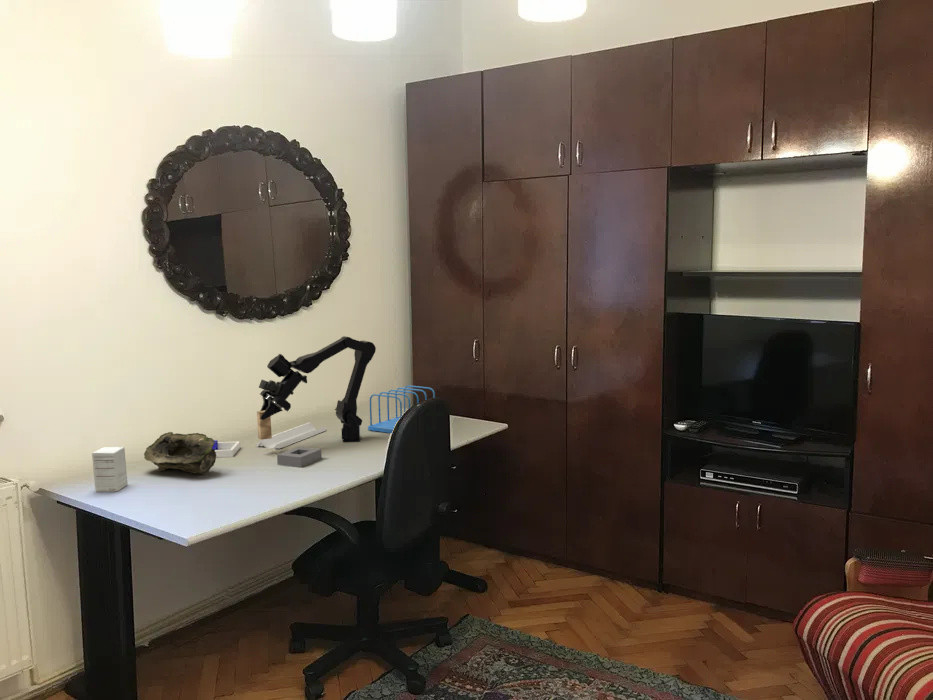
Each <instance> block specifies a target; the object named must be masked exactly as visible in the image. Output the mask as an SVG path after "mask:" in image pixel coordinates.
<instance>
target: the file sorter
mask: <svg viewBox="0 0 933 700" xmlns="http://www.w3.org/2000/svg"><path fill="white" fill-rule="evenodd" d="M418 388H419V389H418ZM423 389H427V390H430V391H432V394H433V396H432V398H435V399H436V392H435V390H434V389H433V388H431V387H426V386H419V385H417V386H416V385H406V386H405V387H397V389H389V390H388V391H382V392H380V393H379V394H377V393H373V394H372V395H370V397H369V419H370V420H369V423H370V425H368V426H367V430H368V431H373V432H381V433H389V434H393V433H392V431H393V429H394V426H395V424H396V422H397V421H398V420H399V418H401V416H403V413H404V412H405V411H406V398H407V400H408V409H409V408H410V409H411V399H410V397H409V395H407V393H408V394H414V395H415V397H416V404H417V403H419V401H420V399H419V395H418V394H417V393H416V392H422V393H423V394H424V400H427V399H428V398H427V393H426V391H424V390H423ZM374 396H376V397H377V399H378V402H377V403H378V422H377V423H373V418H372V417H373V416H372V398H373V397H374ZM398 396H403V405H402V400H401V399H400V397H398ZM381 397H385V398H386V404H387V405H386V406H387V408H386V409H387V410H386V413H387V419H386V420H383V421H381ZM390 398H394V399H395V417H393V418H391V419H390V402H389V401H390V400H389V399H390ZM398 401H399V408H400V409H399V411H400V412H399V413H400V416H398ZM427 401H428V400H427Z"/></svg>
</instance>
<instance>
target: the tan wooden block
mask: <svg viewBox="0 0 933 700" xmlns="http://www.w3.org/2000/svg"><path fill="white" fill-rule="evenodd" d="M264 412H265V410H264V411H260V410H258V411H256V417H257V419H256V420H257V435H258V436H257V438H258V439H259V441H260V440H264V439H270V438H272V436H273V433H272V421H271V419H272V418H271V417H272V416H270V417H268V418H266V419H264V420H262V419H261V416H262V415H263V413H264Z"/></svg>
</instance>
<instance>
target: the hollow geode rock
mask: <svg viewBox="0 0 933 700" xmlns="http://www.w3.org/2000/svg"><path fill="white" fill-rule="evenodd" d="M214 440H215V439H213V437H208V436H207V435H206V434H203V433H199V432H196V433H187V434H184V433H183V434H182V433H174V432H172V431H169V432H165V433H163V434H161V435H159V437H158V438H156V440H155V441H154V442H153V443H152V444H151V445H148V446H147V447H146V449H145V451H144V453H143V456H144V459H145V461H147V462H150V463H152V464H154V466H157V467H158V471H160V472H163V471H165V470H169V469H175V470H178V469H179V470H182V471H183V472H186V473H192V474H196V475H203V476H204V475H207V473H208V472H209V471H210V470H211V469H212V467H214V465H215V463H216V460H217V457H216V452H215V449H212V447H213V446H214V444H215V441H214Z"/></svg>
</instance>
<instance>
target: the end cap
mask: <svg viewBox="0 0 933 700" xmlns="http://www.w3.org/2000/svg"><path fill="white" fill-rule="evenodd" d="M322 455H323V454H322V448H314V447H304V446H296V447H294V448H291V449H289V450H285V451H283V452H281V453H278V454H276V460H277V461H276V462H277V465H278V466H287V467H296V468H303V467H305V466H308V465H310V464H312V463H314V462H317V461H320V460H322V458H323V457H322Z"/></svg>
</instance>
